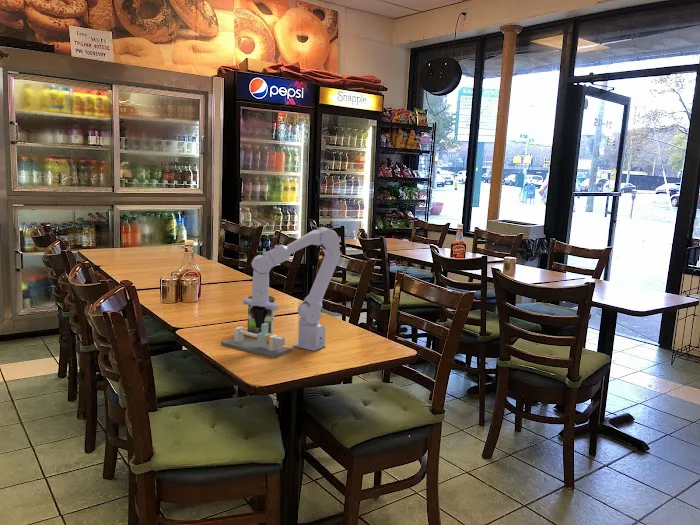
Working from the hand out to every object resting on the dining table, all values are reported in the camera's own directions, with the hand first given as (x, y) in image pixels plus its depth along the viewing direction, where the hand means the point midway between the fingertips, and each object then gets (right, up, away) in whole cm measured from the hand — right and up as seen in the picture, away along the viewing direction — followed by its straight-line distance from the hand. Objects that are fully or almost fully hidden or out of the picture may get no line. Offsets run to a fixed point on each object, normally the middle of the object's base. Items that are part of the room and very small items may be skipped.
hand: (259, 327), depth 198 cm
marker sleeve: (+2, -5, 0) cm, 6 cm away
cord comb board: (-2, -8, +2) cm, 8 cm away
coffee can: (-3, -5, +21) cm, 22 cm away
